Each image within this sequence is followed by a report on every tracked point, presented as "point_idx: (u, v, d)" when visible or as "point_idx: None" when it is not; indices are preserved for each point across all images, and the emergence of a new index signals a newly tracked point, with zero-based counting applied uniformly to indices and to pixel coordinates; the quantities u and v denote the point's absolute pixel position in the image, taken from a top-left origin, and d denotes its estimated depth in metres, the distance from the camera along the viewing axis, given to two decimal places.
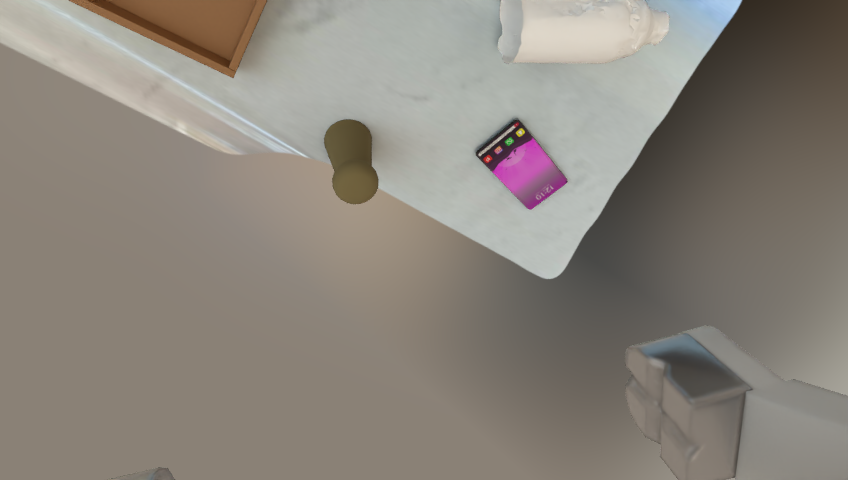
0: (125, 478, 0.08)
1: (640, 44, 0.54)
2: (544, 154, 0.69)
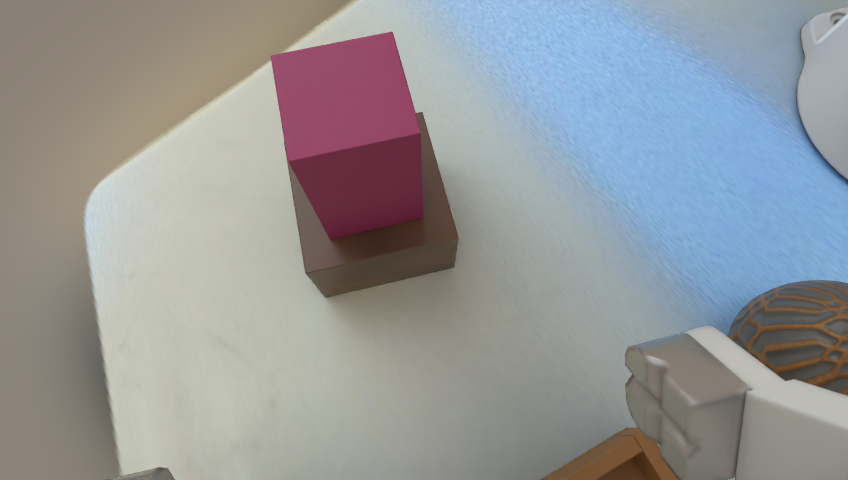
0: (125, 478, 0.08)
1: None
2: None
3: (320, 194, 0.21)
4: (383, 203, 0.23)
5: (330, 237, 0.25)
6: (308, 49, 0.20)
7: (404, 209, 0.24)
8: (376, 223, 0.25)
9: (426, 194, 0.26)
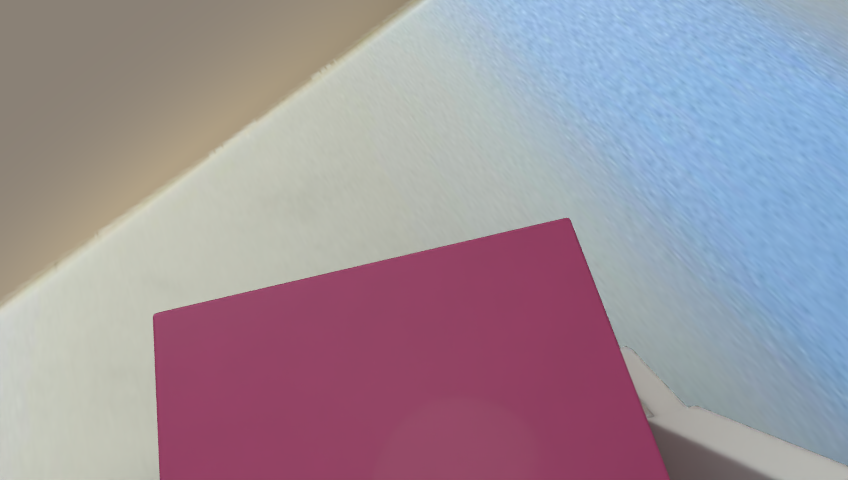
0: None
1: None
2: None
3: None
4: None
5: None
6: (286, 289, 0.06)
7: None
8: None
9: None
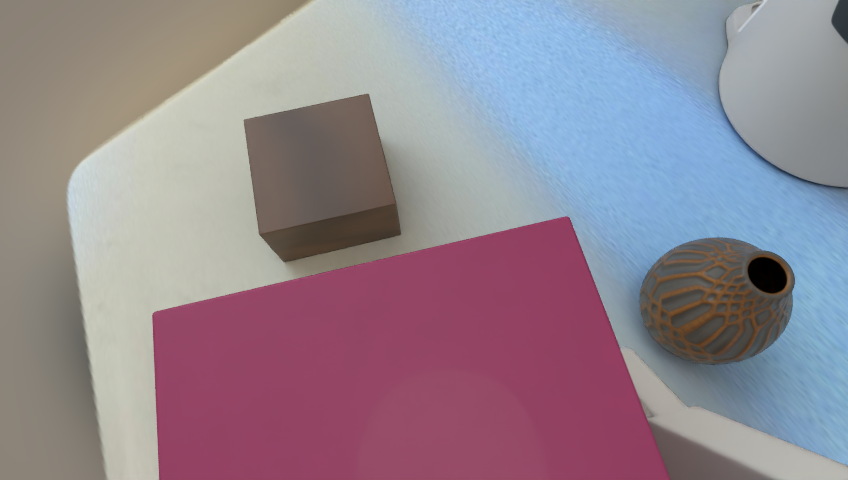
0: None
1: None
2: None
3: None
4: None
5: None
6: (285, 287, 0.06)
7: None
8: None
9: (369, 165, 0.29)
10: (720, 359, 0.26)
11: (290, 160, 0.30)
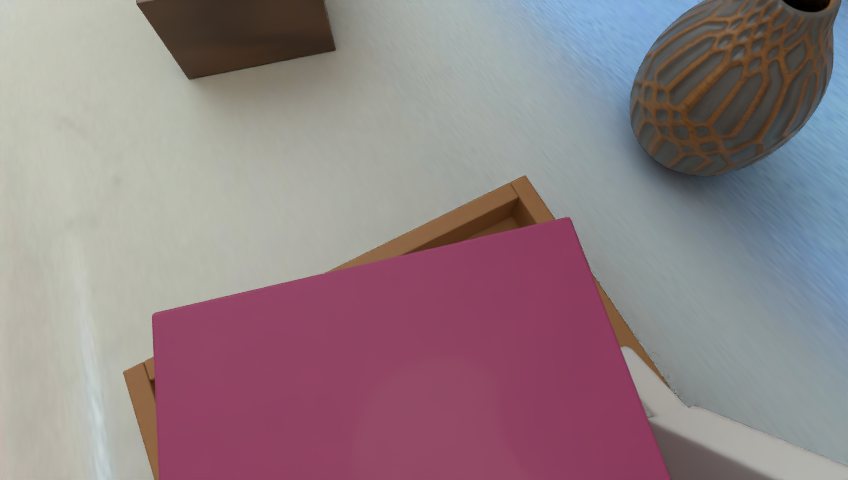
0: None
1: None
2: None
3: None
4: None
5: None
6: (285, 289, 0.06)
7: None
8: None
9: None
10: (735, 145, 0.19)
11: None
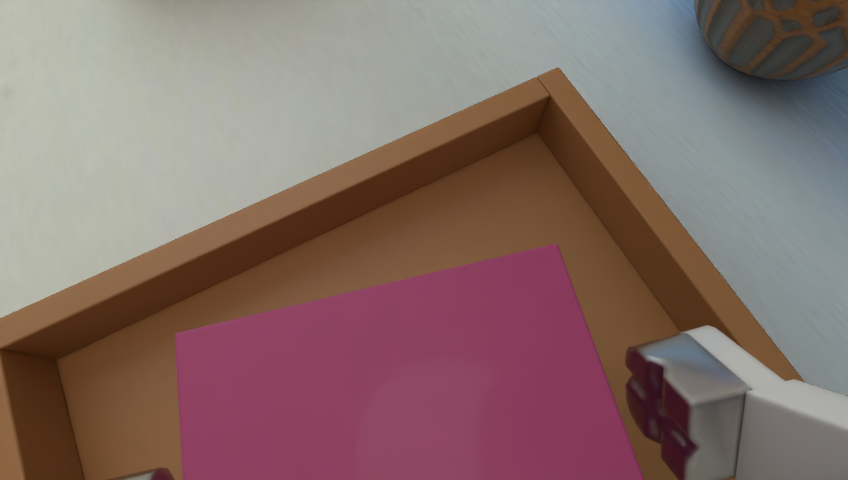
0: (125, 478, 0.08)
1: None
2: None
3: None
4: None
5: None
6: (296, 310, 0.06)
7: None
8: None
9: None
10: None
11: None
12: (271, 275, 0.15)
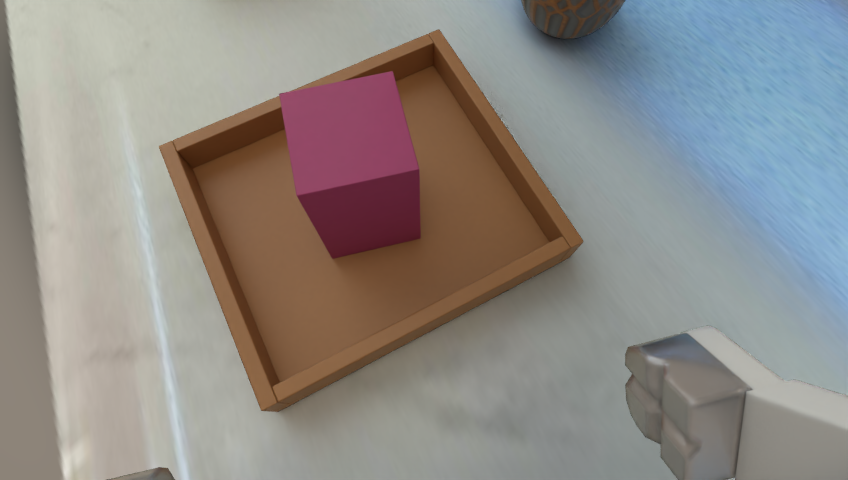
0: (125, 478, 0.08)
1: None
2: None
3: (325, 221, 0.22)
4: (382, 227, 0.24)
5: (332, 257, 0.27)
6: (314, 88, 0.21)
7: (403, 231, 0.26)
8: (376, 244, 0.26)
9: None
10: (578, 1, 0.28)
11: None
12: None
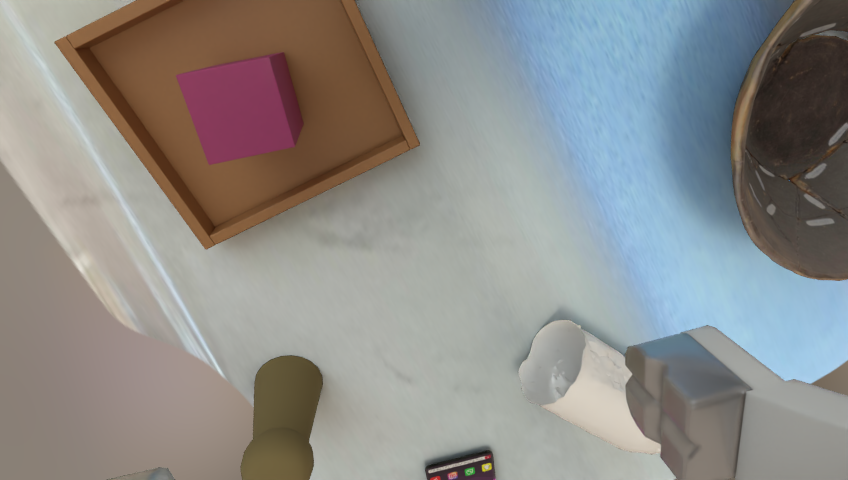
0: (125, 478, 0.08)
1: None
2: None
3: None
4: None
5: None
6: (204, 71, 0.26)
7: None
8: None
9: None
10: None
11: None
12: (180, 12, 0.32)
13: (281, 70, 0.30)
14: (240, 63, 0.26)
